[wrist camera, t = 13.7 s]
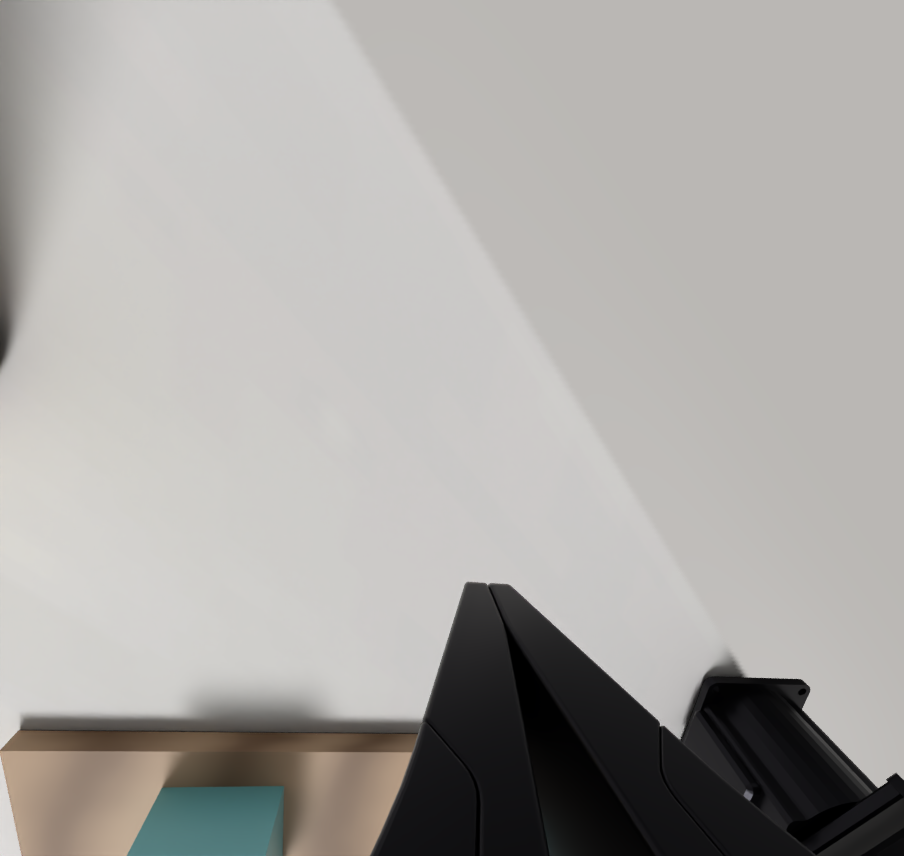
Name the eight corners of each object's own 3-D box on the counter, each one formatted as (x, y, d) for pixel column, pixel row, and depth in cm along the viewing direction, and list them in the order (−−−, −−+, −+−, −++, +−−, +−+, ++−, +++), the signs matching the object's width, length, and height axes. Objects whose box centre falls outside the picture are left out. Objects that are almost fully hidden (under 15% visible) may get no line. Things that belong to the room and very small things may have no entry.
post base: (420, 733, 23) (421, 806, 20) (400, 867, 26) (399, 950, 23) (18, 730, 21) (-58, 812, 17) (46, 878, 24) (-14, 972, 20)
